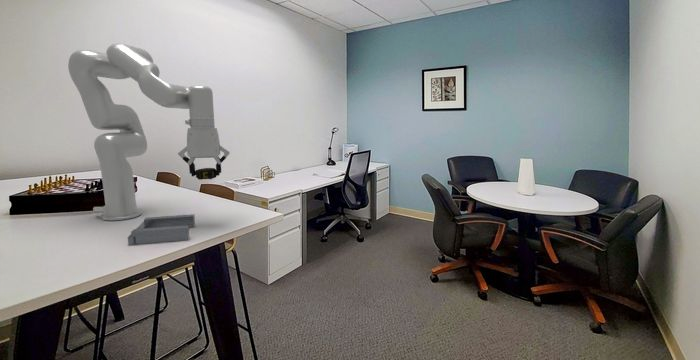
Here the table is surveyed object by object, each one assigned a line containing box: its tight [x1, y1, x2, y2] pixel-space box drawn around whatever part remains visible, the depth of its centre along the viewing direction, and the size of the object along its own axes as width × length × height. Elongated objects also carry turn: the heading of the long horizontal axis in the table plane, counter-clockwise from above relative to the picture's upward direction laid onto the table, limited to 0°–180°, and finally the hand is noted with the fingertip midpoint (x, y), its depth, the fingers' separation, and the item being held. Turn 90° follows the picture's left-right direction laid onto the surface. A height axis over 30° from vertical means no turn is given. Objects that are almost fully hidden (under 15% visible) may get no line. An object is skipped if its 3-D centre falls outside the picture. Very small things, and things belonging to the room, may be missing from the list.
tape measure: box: [195, 167, 218, 181], centre depth 112 cm, size 7×7×4 cm
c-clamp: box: [127, 214, 196, 246], centre depth 106 cm, size 16×18×4 cm
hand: (206, 175), depth 113 cm, fingers closed on tape measure, 7 cm apart
